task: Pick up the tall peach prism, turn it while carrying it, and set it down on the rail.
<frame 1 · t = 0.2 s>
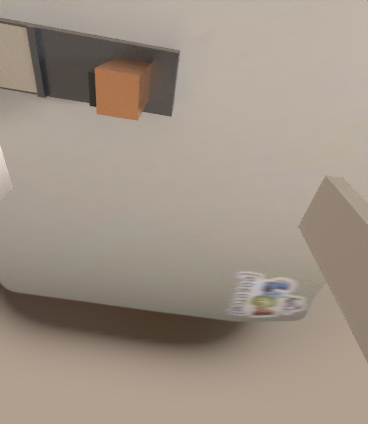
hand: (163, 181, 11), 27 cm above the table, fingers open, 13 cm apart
rail: (82, 65, 33), on the table
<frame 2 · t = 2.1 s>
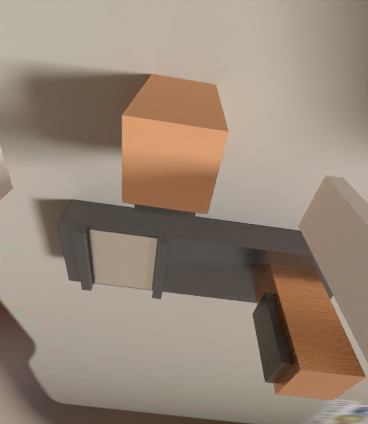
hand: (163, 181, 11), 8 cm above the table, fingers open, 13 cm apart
tall peach prism: (179, 112, 17), on the table
rail: (204, 247, 25), on the table
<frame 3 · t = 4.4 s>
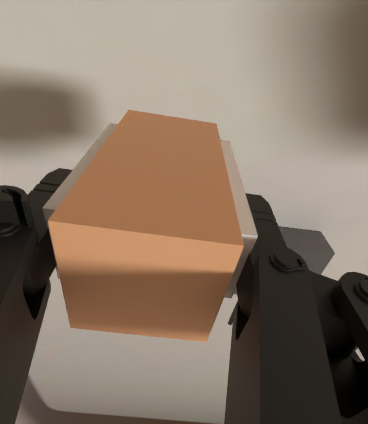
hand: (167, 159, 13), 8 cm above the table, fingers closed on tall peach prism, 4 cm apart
tall peach prism: (168, 157, 13), point 8 cm above the table, touching gripper
rail: (195, 243, 27), on the table
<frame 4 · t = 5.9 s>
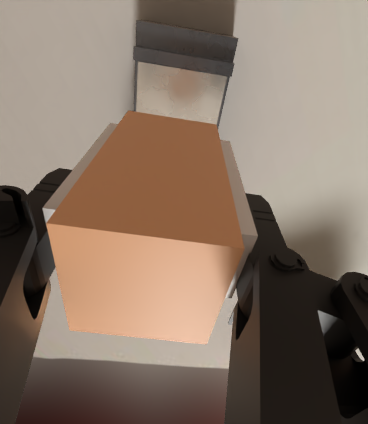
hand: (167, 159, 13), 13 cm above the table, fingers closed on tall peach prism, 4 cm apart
tall peach prism: (168, 158, 13), point 13 cm above the table, touching gripper
rail: (171, 167, 27), on the table
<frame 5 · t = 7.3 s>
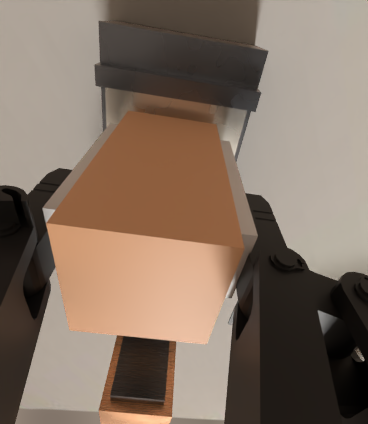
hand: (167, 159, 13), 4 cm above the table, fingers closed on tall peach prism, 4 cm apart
tall peach prism: (168, 158, 13), point 4 cm above the table, touching gripper
rail: (163, 219, 20), on the table
when the fingers open (3 cm above the table, at t = 7.8 s): tall peach prism stays where it is, resting on rail.
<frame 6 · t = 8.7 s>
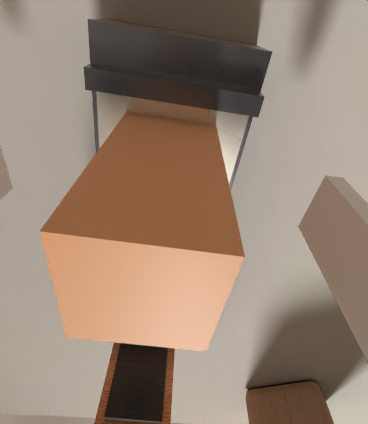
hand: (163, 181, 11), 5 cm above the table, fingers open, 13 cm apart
tall peach prism: (167, 159, 13), point 3 cm above the table, touching rail
wooden block: (285, 394, 38), on the table
rail: (161, 226, 19), on the table
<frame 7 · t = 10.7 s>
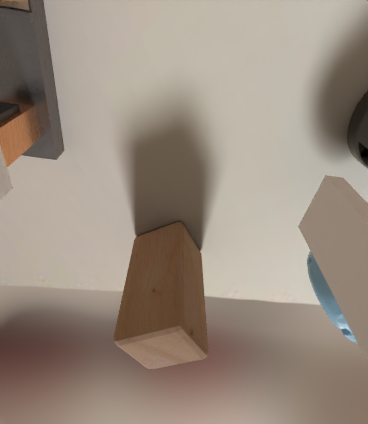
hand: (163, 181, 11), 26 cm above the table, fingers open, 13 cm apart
wooden block: (169, 243, 50), on the table
rail: (20, 51, 30), on the table
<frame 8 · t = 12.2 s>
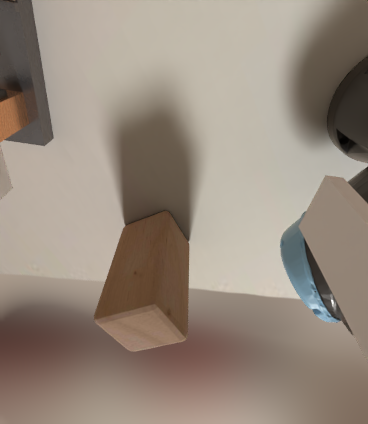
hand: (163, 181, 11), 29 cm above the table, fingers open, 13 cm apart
wooden block: (157, 233, 51), on the table
rail: (10, 42, 32), on the table
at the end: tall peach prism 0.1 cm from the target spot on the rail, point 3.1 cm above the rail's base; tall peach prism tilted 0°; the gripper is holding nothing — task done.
